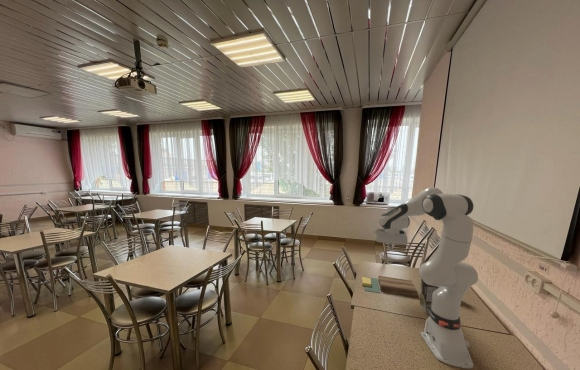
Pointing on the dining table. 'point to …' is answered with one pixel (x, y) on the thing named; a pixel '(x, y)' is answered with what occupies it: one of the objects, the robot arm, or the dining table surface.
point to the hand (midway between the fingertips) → (390, 249)
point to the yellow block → (366, 281)
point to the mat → (373, 286)
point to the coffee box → (426, 296)
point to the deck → (397, 286)
